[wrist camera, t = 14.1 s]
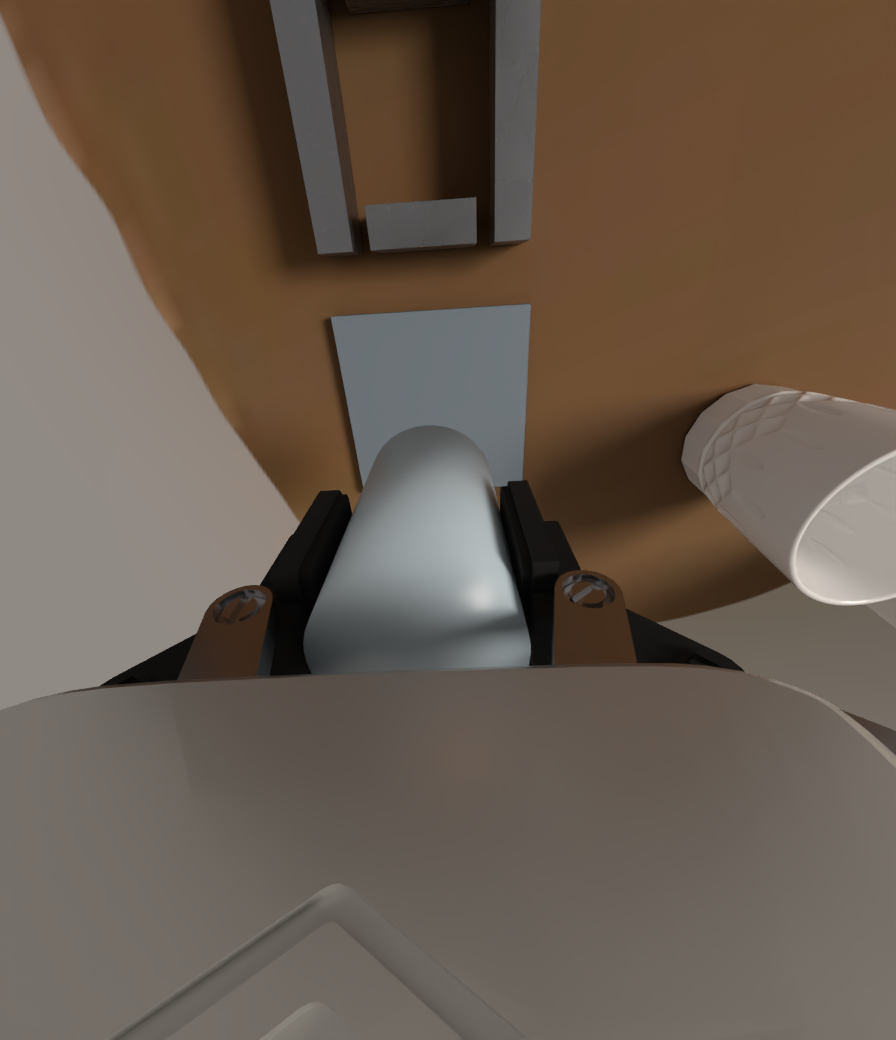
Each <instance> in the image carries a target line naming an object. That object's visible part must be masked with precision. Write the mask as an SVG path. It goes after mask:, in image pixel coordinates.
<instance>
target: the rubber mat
mask: <svg viewBox="0 0 896 1040" xmlns="http://www.w3.org/2000/svg"><path fill="white" fill-rule="evenodd" d="M530 308H531V304H515V305H500V306H484V307H469V308H453V309H437V310H422V311H406V312H391V313H375V314H360V315H344V316H332V317H331V321H332V326H333V331H334V337H335V342H336V347H337V352H338V358H339V363H340V368H341V373H342V379H343V384H344V389H345V395H346V400H347V405H348V410H349V416H350V421H351V426H352V431H353V437H354V442H355V447H356V453H357V458H358V463H359V468H360V474H361V479H362V484H363V487H364V485H365V483H366V480H367V478H368V475H369V473H370V471H371V468H372V466H373V463H374V461H375V459H376V457H377V455H378V453H379V451H380V450H381V449H382V447H383V446H384V445H385V444H386V443H387V442H388V441H389V440H390V439H391V438H393V437H394V436H395V435H397V434H399V433H400V432H402V431H405V430H407V429H410V428H413V427H417V426H425V425H436V426H443V427H447V428H450V429H453V430H456V431H458V432H460V433H462V434H464V435H465V436H467V437H468V438H469V439H471V440H472V441H473V442H474V443H475V444H476V445H477V446H478V447H479V448H480V450H481V451H482V452H483V454H484V456H485V457H486V459H487V462H488V464H489V467H490V471H491V476H492V480H493V484H494V487H500V486H507V483H508V481H522V478H523V457H524V436H525V414H526V393H527V372H528V351H529V330H530Z"/></svg>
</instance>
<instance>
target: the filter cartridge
mask: <svg viewBox="0 0 896 1040" xmlns="http://www.w3.org/2000/svg"><path fill="white" fill-rule="evenodd" d="M303 645H304V654H305V658H306V662H307V664H308V667H309V669H310V671H311V673H312V674H324V673H349V672H374V671H399V670H424V669H450V668H479V667H508V666H528V665H529V661H530V656H531V643H530V638H529V633H528V629H527V625H526V620H525V616H524V612H523V608H522V603H521V599H520V595H519V591H518V586H517V582H516V578H515V574H514V569H513V565H512V561H511V557H510V552H509V548H508V544H507V540H506V535H505V531H504V527H503V522H502V518H501V514H500V510H499V505H498V501H497V497H496V493H495V488H494V484H493V480H492V476H491V471H490V467H489V464H488V462H487V459H486V457H485V456H484V454H483V452H482V451H481V450H480V448H479V447H478V446H477V445H476V444H475V443H474V442H473V441H472V440H471V439H469V438H468V437H467V436H465V435H464V434H462V433H460V432H458V431H456V430H453V429H450V428H447V427H443V426H436V425H425V426H417V427H413V428H410V429H407V430H405V431H402V432H400V433H399V434H397V435H395V436H394V437H393V438H391V439H390V440H389V441H388V442H387V443H386V444H385V445H384V446H383V447H382V449H381V450H380V451H379V453H378V455H377V457H376V459H375V461H374V463H373V466H372V468H371V471H370V473H369V475H368V478H367V480H366V483H365V485H364V487H363V490H362V492H361V495H360V497H359V500H358V502H357V504H356V507H355V509H354V512H353V514H352V517H351V519H350V521H349V524H348V526H347V529H346V531H345V533H344V536H343V538H342V541H341V543H340V546H339V548H338V550H337V553H336V555H335V558H334V560H333V562H332V565H331V567H330V570H329V572H328V575H327V577H326V579H325V582H324V584H323V587H322V589H321V592H320V594H319V596H318V599H317V601H316V604H315V606H314V608H313V611H312V613H311V616H310V618H309V621H308V623H307V626H306V629H305V633H304V641H303Z"/></svg>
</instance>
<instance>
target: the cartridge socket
mask: <svg viewBox="0 0 896 1040" xmlns="http://www.w3.org/2000/svg"><path fill="white" fill-rule="evenodd" d="M345 3H346V5H347V8H348V11H349V13H350V14H361V13H373V12H384V11H396V10H407V9H419V8H431V7H442V6H454V5H466V4H469V0H345ZM270 5H271V10H272V15H273V21H274V26H275V31H276V36H277V42H278V47H279V52H280V57H281V63H282V68H283V73H284V78H285V84H286V89H287V94H288V99H289V105H290V110H291V115H292V120H293V126H294V131H295V136H296V141H297V147H298V152H299V157H300V162H301V168H302V173H303V178H304V183H305V189H306V194H307V199H308V204H309V210H310V215H311V220H312V225H313V231H314V236H315V241H316V246H317V252H318V254H320V255H325V256H330V257H340V256H355V255H364V253H363V246H362V239H361V232H360V225H359V218H358V211H357V204H356V196H355V189H354V182H353V175H352V168H351V161H350V154H349V146H348V139H347V132H346V125H345V118H344V111H343V104H342V97H341V89H340V82H339V75H338V68H337V61H336V54H335V47H334V39H333V32H332V25H331V18H330V11H329V4H328V0H270ZM540 13H541V0H489V246H500V245H515V244H522V243H524V242H526V241H528V240H530V239H531V219H532V196H533V173H534V150H535V128H536V105H537V82H538V59H539V36H540ZM365 212H366V220H367V227H368V235H369V243H370V250H371V251H373V252H376V253H379V254H384V253H398V252H413V251H427V250H442V249H457V248H471V247H474V246H475V245H476V243H477V220H476V197H474V198H460V199H446V200H432V201H418V202H404V203H390V204H377V205H365Z"/></svg>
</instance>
